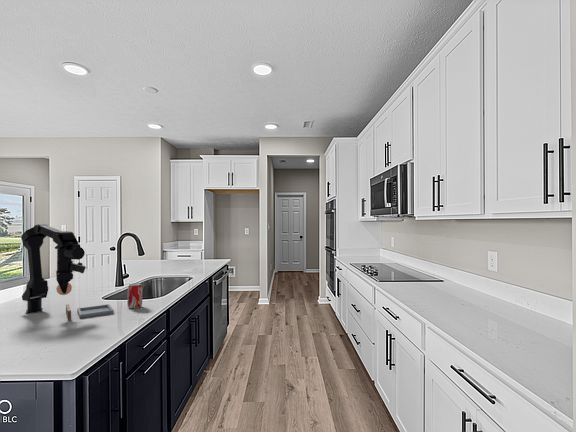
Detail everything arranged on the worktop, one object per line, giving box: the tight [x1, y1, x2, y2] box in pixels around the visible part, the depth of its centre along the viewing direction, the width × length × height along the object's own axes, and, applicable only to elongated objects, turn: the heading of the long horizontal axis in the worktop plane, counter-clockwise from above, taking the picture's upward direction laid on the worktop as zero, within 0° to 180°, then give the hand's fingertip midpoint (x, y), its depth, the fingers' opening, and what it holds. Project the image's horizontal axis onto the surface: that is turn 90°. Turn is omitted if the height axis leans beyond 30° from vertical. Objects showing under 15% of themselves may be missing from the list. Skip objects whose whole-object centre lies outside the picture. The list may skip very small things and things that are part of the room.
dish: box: [76, 303, 115, 320], centre depth 165 cm, size 14×14×2 cm
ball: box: [55, 282, 73, 296], centre depth 157 cm, size 6×6×6 cm
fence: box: [65, 304, 72, 322], centre depth 158 cm, size 16×1×4 cm, turn 36°
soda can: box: [126, 282, 143, 309], centre depth 175 cm, size 7×7×12 cm
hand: (64, 292), depth 157 cm, fingers closed on ball, 6 cm apart
